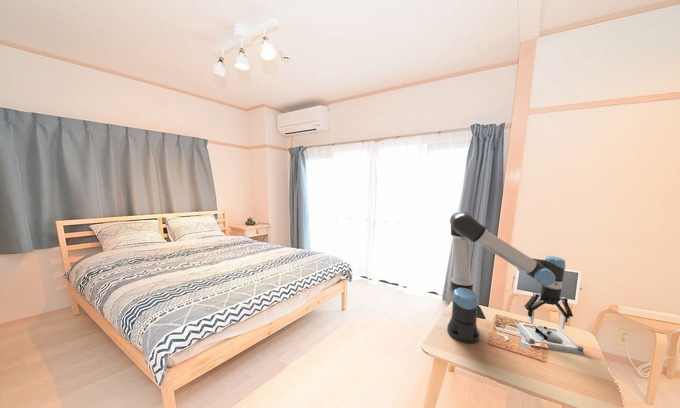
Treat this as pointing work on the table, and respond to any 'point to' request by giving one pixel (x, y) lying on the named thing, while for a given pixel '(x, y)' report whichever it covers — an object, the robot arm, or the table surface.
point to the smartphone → (480, 313)
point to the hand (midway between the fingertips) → (545, 325)
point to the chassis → (534, 337)
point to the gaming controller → (548, 334)
